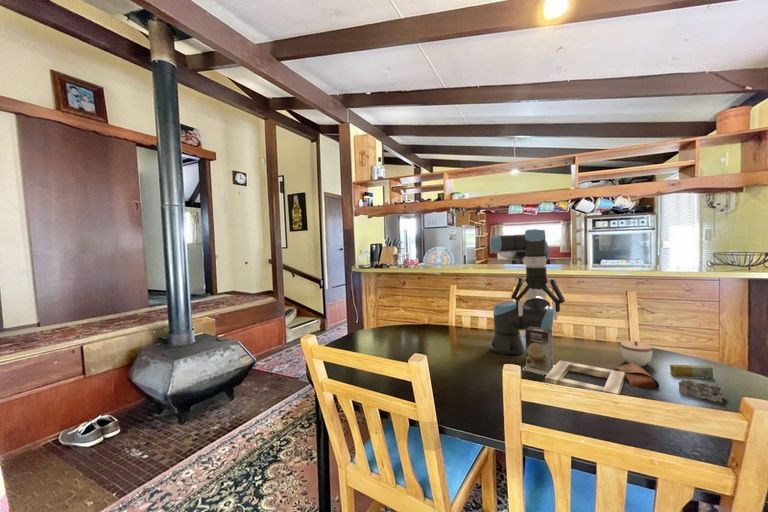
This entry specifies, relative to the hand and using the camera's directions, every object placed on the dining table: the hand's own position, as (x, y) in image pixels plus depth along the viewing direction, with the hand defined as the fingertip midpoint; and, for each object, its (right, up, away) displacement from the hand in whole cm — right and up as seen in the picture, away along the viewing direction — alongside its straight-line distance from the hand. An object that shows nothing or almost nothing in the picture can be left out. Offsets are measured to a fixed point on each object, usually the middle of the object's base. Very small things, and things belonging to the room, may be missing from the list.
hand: (537, 317), depth 133 cm
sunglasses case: (+31, -21, -12) cm, 39 cm away
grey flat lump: (+41, -21, -27) cm, 54 cm away
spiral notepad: (+1, -21, 0) cm, 21 cm away
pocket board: (+12, -21, -13) cm, 28 cm away
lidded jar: (+42, -20, +1) cm, 46 cm away
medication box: (+51, -20, -13) cm, 56 cm away
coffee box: (+1, -21, 0) cm, 21 cm away
